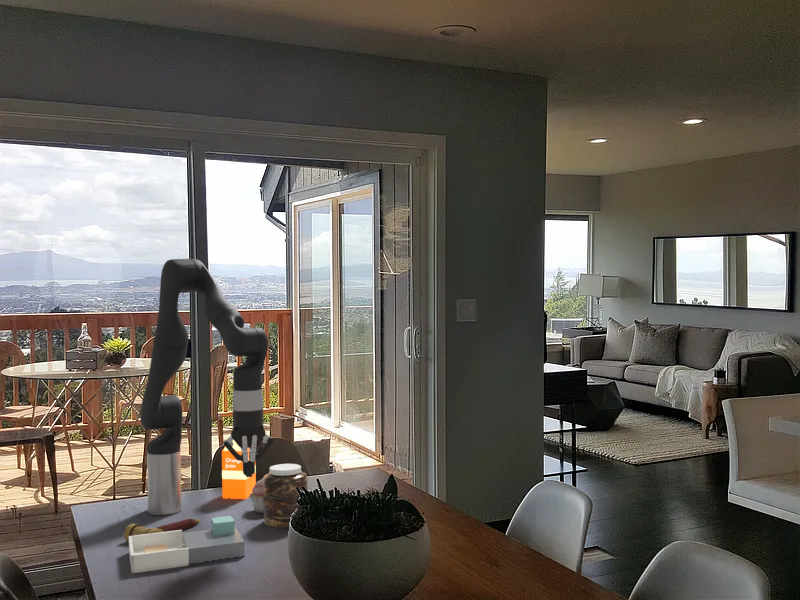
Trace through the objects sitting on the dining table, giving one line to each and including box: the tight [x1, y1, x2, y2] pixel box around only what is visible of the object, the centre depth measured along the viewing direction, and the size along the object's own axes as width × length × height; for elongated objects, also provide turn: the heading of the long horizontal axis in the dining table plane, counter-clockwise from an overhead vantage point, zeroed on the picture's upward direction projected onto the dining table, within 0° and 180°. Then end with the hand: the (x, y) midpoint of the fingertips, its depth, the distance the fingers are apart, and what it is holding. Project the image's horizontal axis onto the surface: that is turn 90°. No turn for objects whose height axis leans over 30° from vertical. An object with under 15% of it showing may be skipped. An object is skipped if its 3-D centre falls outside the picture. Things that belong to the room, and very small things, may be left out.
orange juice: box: [221, 440, 257, 500], centre depth 238 cm, size 8×9×20 cm
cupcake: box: [249, 476, 264, 514], centre depth 221 cm, size 9×9×10 cm
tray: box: [128, 530, 190, 574], centre depth 182 cm, size 15×12×4 cm
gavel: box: [123, 518, 200, 543], centre depth 201 cm, size 21×5×10 cm
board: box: [182, 526, 246, 565], centre depth 186 cm, size 13×13×4 cm
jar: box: [263, 463, 309, 528], centre depth 210 cm, size 12×12×15 cm
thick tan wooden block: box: [144, 544, 168, 553], centre depth 178 cm, size 5×5×3 cm
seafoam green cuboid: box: [210, 515, 236, 536], centre depth 191 cm, size 5×5×3 cm
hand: (248, 476), depth 192 cm, fingers closed
